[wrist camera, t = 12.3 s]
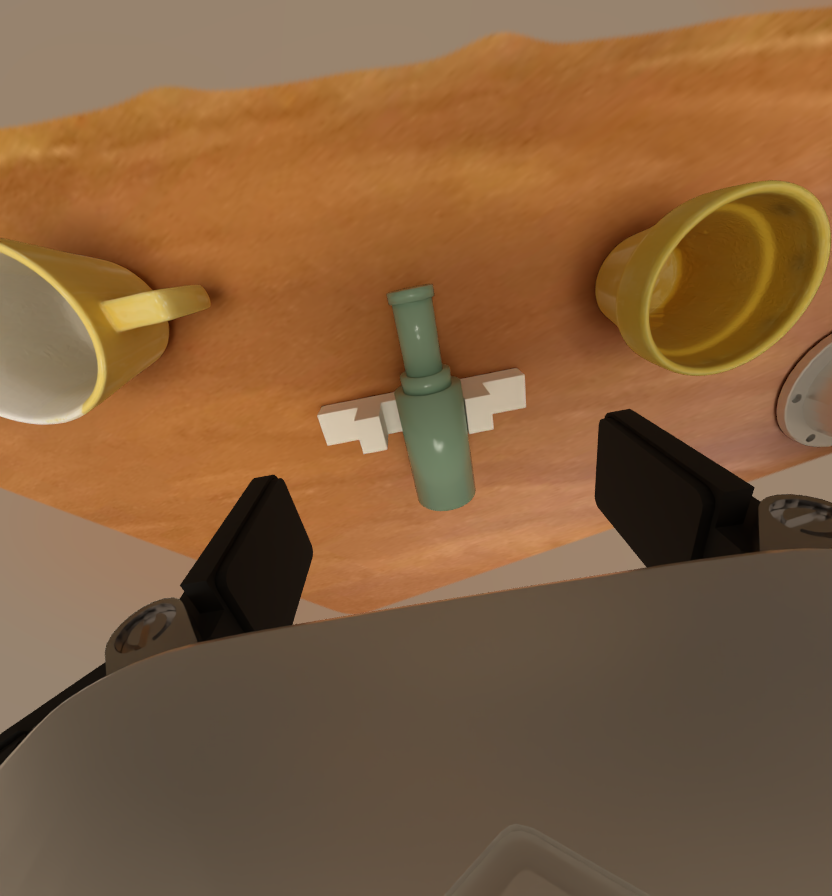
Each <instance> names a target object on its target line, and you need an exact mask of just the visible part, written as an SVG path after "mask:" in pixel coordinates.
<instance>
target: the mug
mask: <svg viewBox="0 0 832 896" xmlns="http://www.w3.org/2000/svg"><path fill="white" fill-rule="evenodd" d="M210 306H211V302H210V298H209V296H208V294H207V292H206V291H205V289H204V288H203V287H202V286H201V285H189V286H181V287H173V288H166V289H159V290H153V291H152V289H151V288H150V287H149V286H148V285H147V284H146V283H145V282H144V281H143V280H141V279H140V278H139V277H138V276H136V275H135V274H134V273H132V272H131V271H129V270H128V269H126V268H124V267H122V266H120V265H118V264H115V263H113V262H109V261H106V260H102V259H97V258H92V257H87V256H82V255H77V254H72V253H67V252H62V251H58V250H54V249H49V248H45V247H40V246H36V245H32V244H27V243H23V242H18V241H13V240H9V239H4V238H0V416H1V417H4V418H7V419H11V420H15V421H19V422H25V423H31V424H41V425H43V424H58V423H65V422H68V421H72V420H75V419H77V418H79V417H81V416H83V415H85V414H87V413H88V412H89V411H91V410H92V409H93V408H95V407H96V406H98V405H99V404H100V403H102V402H103V401H104V400H106V399H107V398H108V397H110V396H111V395H112V394H113V393H115V392H116V391H117V390H118V389H120V388H121V387H122V386H123V385H125V384H126V383H127V382H128V381H130V380H131V379H132V378H134V377H135V376H136V375H138V374H139V373H140V372H142V371H143V370H144V369H146V368H147V367H148V366H150V365H151V364H153V363H154V362H155V361H156V360H157V359H159V357H160V356H161V355H162V354H163V352H164V351H165V349H166V347H167V344H168V339H169V324H168V321H169V320H173V319H176V318H179V317H183V316H186V315H189V314H192V313H195V312H199V311H202V310H205V309H208V308H209V307H210Z"/></svg>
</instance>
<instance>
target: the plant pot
mask: <svg viewBox="0 0 832 896" xmlns="http://www.w3.org/2000/svg"><path fill="white" fill-rule="evenodd" d="M830 246H831V232H830V224H829V220H828V217H827V215H826V212H825V210H824V208H823V206H822V204H821V203H820V201H819V200H818V199H817V198H816V197H815V196H814V195H813V194H812V193H811V192H809V191H808V190H807V189H805V188H803V187H801V186H799V185H796V184H793V183H790V182H785V181H774V180H770V181H760V182H753V183H747V184H742V185H737V186H732V187H728V188H724V189H720V190H716V191H713V192H710V193H706V194H703V195H700V196H698V197H696V198H693V199H691V200H689V201H687V202H685V203H683V204H681V205H680V206H678V207H677V208H675V209H674V210H672V211H671V212H669V213H668V214H667V215H666V216H664V217H663V218H662V219H661V220H660V221H659V222H658V223H657V224H656V225H655V226H653V227H651V228H649V229H646V230H644V231H642V232H640V233H637V234H635V235H633V236H631V237H629V238H627V239H625V240H624V241H622V242H621V243H620V244H619V245H617V246H616V247H615V248H614V249H613V250H612V251H611V253H610V254H609V255H608V256H607V258H606V259H605V261H604V262H603V264H602V266H601V268H600V270H599V273H598V276H597V279H596V287H595V294H596V300H597V304H598V306H599V308H600V310H601V312H602V313H603V314H604V315H605V316H606V317H607V318H608V319H609V320H611V321H612V322H613V323H614V324H615V325H616V326H618V328H619V331H620V333H621V336H622V337H623V339H624V341H625V342H626V344H627V345H628V346H629V347H630V348H631V349H632V350H633V351H634V352H635V353H636V354H638V355H639V356H641V357H642V358H644V359H646V360H648V361H650V362H652V363H654V364H656V365H658V366H660V367H663V368H665V369H667V370H670V371H673V372H675V373H679V374H683V375H691V376H703V375H712V374H717V373H721V372H725V371H728V370H731V369H734V368H736V367H738V366H741V365H743V364H745V363H747V362H749V361H751V360H753V359H754V358H756V357H757V356H759V355H761V354H762V353H764V352H765V351H766V350H768V349H769V348H770V347H771V346H773V345H774V344H775V343H776V342H777V341H779V340H780V339H781V338H782V337H783V336H784V335H785V334H786V333H787V332H788V331H789V330H790V329H791V328H792V327H793V326H794V324H795V323H796V322H797V320H798V319H799V318H800V317H801V316H802V314H803V313H804V312H805V310H806V309H807V307H808V306H809V304H810V303H811V301H812V299H813V297H814V296H815V294H816V292H817V290H818V288H819V286H820V284H821V282H822V279H823V276H824V274H825V271H826V268H827V264H828V260H829V255H830Z"/></svg>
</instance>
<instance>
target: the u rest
mask: <svg viewBox="0 0 832 896" xmlns="http://www.w3.org/2000/svg"><path fill="white" fill-rule="evenodd" d="M460 380H461V385H462V393H463V400H464V408H465V415H466V422H467V430H468V432H469V434H472V433H477V432H482V431H487V430H493V429H494V427H493V417H492V414H495V413H500V412H505V411H510V410H516V409H521V408H526V394H525V375H524V374H523V373H522V372H521V371H520V370H519V369H518V368H513V369H508V370H503V371H498V372H493V373H488V374H483V375H478V376H473V377H468V378H463V379H460ZM317 416H318V419H319V422H320V425H321V428H322V431H323V434H324V437H325V439H326V442H327V445H334V444H339V443H344V442H349V441H354V440H360V443H361V447H362V450H363V453H364V454H367V453H372V452H377V451H382V450H387V448H388V434H391V433H396V432H401V431H402V426H401V422H400V417H399V413H398V409H397V404H396V400H395V396H394V392H392V393H387V394H382V395H377V396H372V397H367V398H362V399H357V400H352V401H347V402H341V403H336V404H331V405H326V406H322V407H321V409H320V411H319V413H318V415H317Z"/></svg>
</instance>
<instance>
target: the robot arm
mask: <svg viewBox="0 0 832 896" xmlns="http://www.w3.org/2000/svg"><path fill="white" fill-rule="evenodd" d="M776 412H777V421H778V424H779V426H780V429H781V430H782V431H783V432H784V434H785V435H786V436H788V437H789V438H791V439H792V440H794V441H797V442H799V443H801V444H803V445H807V446H813V447H828V446H832V334H830V335H829V336H827V337H826V338H824V339H823V340H822V341H820V342H819V343H818V344H817V345H816V346H815V347H813V348H812V349H811V350H810V351H809V352H808V353H807V354H806V355H805V356H804V357H803V358H802V359H801V360H800V361H799V362H798V364H797V365H796V366H795V368H794V369H793V371H792V372H791V373H790V375H789V376H788V378H787V380H786V382H785V384H784V385H783V387H782V390H781V393H780V396H779V398H778V404H777V411H776ZM753 490H754V487H753V486H752V485H750V484H749V483H747V482H745V481H744V480H742V479H741V478H739V477H738V476H736V475H734V474H733V473H731V472H730V471H728V470H726V469H725V468H723V467H722V466H720V465H718V464H717V463H715V462H714V461H712V460H711V459H709V458H707V457H706V456H704V455H703V454H701V453H699V452H698V451H696V450H695V449H693V448H692V447H690V446H688V445H687V444H685V443H684V442H682V441H680V440H679V439H677V438H676V437H674V436H672V435H671V434H669V433H668V432H666V431H665V430H663V429H661V428H660V427H658V426H657V425H655V424H653V423H652V422H650V421H649V420H647V419H646V418H644V417H642V416H641V415H639V414H638V413H636V412H634V411H633V410H631V409H626V410H621V411H616V412H610V413H607V414H606V416H605V418H604V419H601V420H600V422H599V431H598V449H597V466H596V483H595V501H596V504H597V506H598V508H599V509H600V510H601V512H602V513H603V514H604V515H605V517H606V518H607V519H608V520H609V522H610V523H611V524H612V525H613V526H614V528H615V529H616V530H617V531H618V533H619V534H620V535H621V536H622V537H623V539H624V540H625V541H626V542H627V544H628V545H629V546H630V547H631V549H632V550H633V551H634V552H635V554H637V556H638V557H639V559H640V560H641V561H642V562H643V563H644V565H645V566H646V567H647V568H640V569H634V570H628V571H621V572H615V573H608V574H602V575H596V576H589V577H584V578H577V579H570V580H564V581H557V582H551V583H544V584H538V585H531V586H525V587H519V588H513V589H507V590H501V591H494V592H488V593H482V594H476V595H470V596H464V597H457V598H451V599H445V600H439V601H433V602H427V603H420V604H414V605H409V606H402V607H397V608H390V609H385V610H378V611H372V612H366V613H360V614H354V615H348V616H343V617H337V618H331V619H325V620H319V621H313V622H307V623H301V624H295V625H292V624H293V621H294V617H295V614H296V611H297V607H298V604H299V601H300V597H301V594H302V591H303V587H304V584H305V581H306V577H307V574H308V571H309V567H310V564H311V560H312V557H313V549H312V545H311V542H310V540H309V538H308V535H307V533H306V531H305V528H304V526H303V524H302V521H301V519H300V517H299V514H298V512H297V510H296V507H295V505H294V503H293V500H292V498H291V496H290V493H289V491H288V489H287V486H286V484H285V482H284V480H283V479H282V478H279V479H278V478H277V477H276V476H275V475H269V476H263V477H258V478H254V479H253V480H252V481H251V482H250V484H249V485H248V487H247V488H246V490H245V491H244V493H243V494H242V496H241V497H240V498H239V500H238V501H237V503H236V504H235V506H234V507H233V509H232V510H231V512H230V513H229V515H228V516H227V517H226V519H225V520H224V522H223V523H222V525H221V526H220V528H219V529H218V531H217V532H216V534H215V535H214V536H213V538H212V539H211V541H210V542H209V544H208V545H207V547H206V548H205V550H204V551H203V553H202V554H201V555H200V557H199V558H198V560H197V561H196V563H195V564H194V566H193V567H192V569H191V570H190V571H189V573H188V575H187V576H186V577H185V579H184V580H183V582H182V583H181V585H180V586H181V587H182V589H183V590H184V593H183V595H182V596H181V598H180V599H177V598H164V599H161V600H158V601H155V602H152V603H150V604H148V605H146V606H144V607H142V608H141V609H139V610H138V611H137V612H135V613H134V614H132V615H131V616H129V617H128V618H127V619H126V620H125V621H124V622H123V623H122V624H121V625H120V626H119V627H118V628H117V629H116V630H115V631H114V633H113V634H112V635H111V637H110V639H109V641H108V642H107V645H106V649H105V663H104V664H102V665H101V666H99V667H98V668H96V669H95V670H93V671H92V672H90V673H89V674H87V675H86V676H84V677H83V678H82V679H80V680H79V681H77V682H76V683H74V684H73V685H71V686H70V687H68V688H67V689H65V690H64V691H62V692H61V693H60V694H58V695H57V696H55V697H54V698H52V699H51V700H49V701H48V702H46V703H45V704H43V705H42V706H41V707H39V708H38V709H36V710H35V711H33V712H32V713H31V714H29V715H27V716H26V717H25V718H23V719H22V720H20V721H19V722H17V723H16V724H14V725H13V726H11V727H10V728H9V729H7V730H6V731H4V732H3V733H2V734H0V896H832V503H831V502H828V501H825V500H823V499H818V498H814V497H809V496H802V495H793V494H782V495H774V496H770V497H766V498H765V499H763V500H762V501H761V502H760V501H759V500H757V499H756V498H754V497H753V496H752V494H753Z"/></svg>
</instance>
